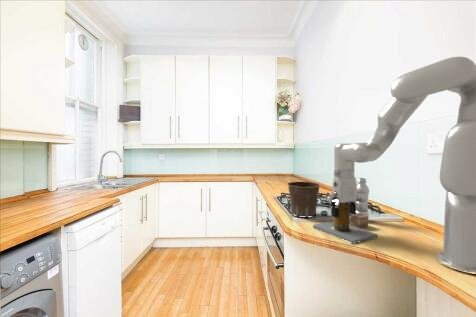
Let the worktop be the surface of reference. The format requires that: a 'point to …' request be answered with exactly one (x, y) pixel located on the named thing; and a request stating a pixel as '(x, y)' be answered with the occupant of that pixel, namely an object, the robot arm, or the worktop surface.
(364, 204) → the plastic bottle
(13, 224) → the worktop surface
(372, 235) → the slate board
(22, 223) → the worktop surface
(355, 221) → the walnut block
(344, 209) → the condiment
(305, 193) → the plant pot
